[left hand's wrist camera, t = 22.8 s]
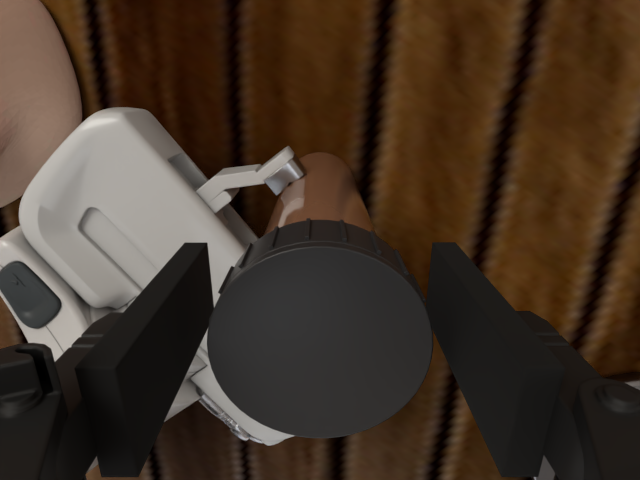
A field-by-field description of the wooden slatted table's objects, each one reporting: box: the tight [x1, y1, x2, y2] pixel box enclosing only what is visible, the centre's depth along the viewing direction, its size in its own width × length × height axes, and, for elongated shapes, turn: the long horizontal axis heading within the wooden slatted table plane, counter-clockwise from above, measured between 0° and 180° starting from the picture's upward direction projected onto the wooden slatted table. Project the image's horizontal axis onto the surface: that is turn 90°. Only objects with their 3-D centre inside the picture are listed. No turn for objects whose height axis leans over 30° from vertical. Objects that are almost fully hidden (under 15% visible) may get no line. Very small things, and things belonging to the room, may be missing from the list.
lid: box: [207, 218, 433, 438], centre depth 11 cm, size 6×6×2 cm
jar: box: [264, 152, 376, 235], centre depth 19 cm, size 5×5×17 cm
